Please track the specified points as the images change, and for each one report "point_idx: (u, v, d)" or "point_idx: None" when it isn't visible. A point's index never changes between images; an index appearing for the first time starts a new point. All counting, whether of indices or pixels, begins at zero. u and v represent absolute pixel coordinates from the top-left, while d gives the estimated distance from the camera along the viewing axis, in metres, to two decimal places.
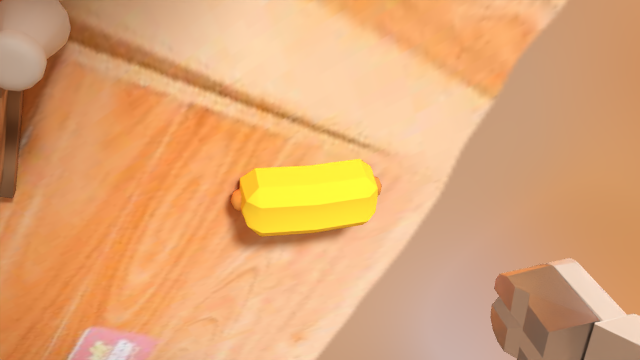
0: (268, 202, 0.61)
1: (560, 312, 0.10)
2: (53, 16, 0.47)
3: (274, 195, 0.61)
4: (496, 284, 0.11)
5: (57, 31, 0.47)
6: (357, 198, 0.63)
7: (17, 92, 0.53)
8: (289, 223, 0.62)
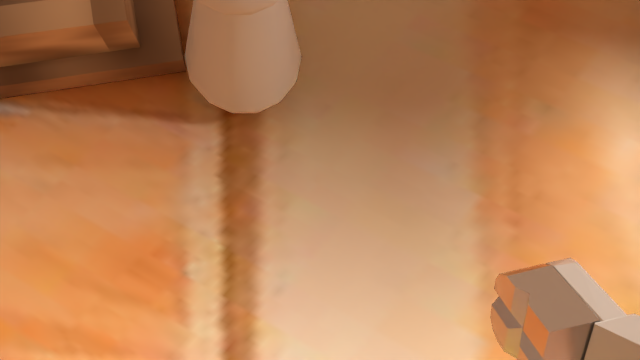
0: None
1: (560, 312, 0.10)
2: (286, 65, 0.26)
3: None
4: (496, 284, 0.11)
5: (268, 71, 0.25)
6: None
7: (99, 66, 0.29)
8: None
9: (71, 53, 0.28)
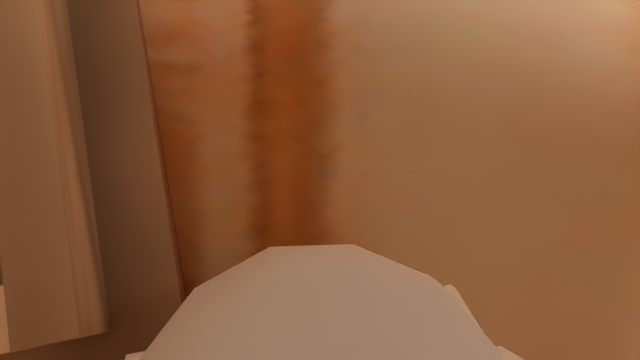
0: None
1: None
2: None
3: None
4: None
5: None
6: None
7: None
8: None
9: None
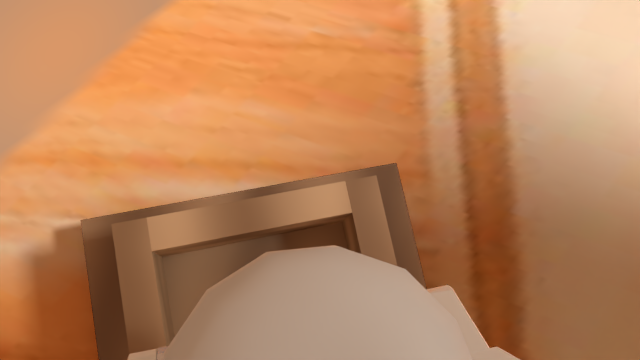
0: None
1: None
2: None
3: None
4: None
5: None
6: None
7: None
8: None
9: None
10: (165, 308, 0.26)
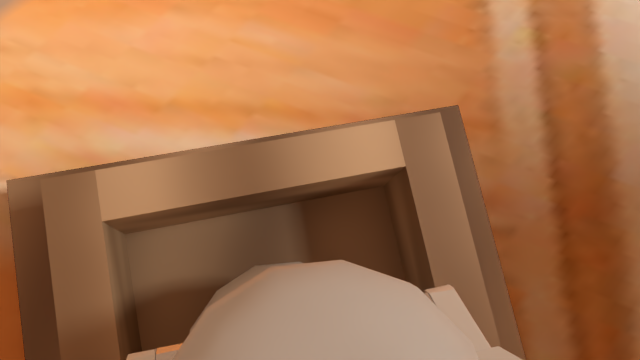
0: None
1: None
2: None
3: None
4: None
5: None
6: None
7: None
8: None
9: None
10: (125, 309, 0.17)
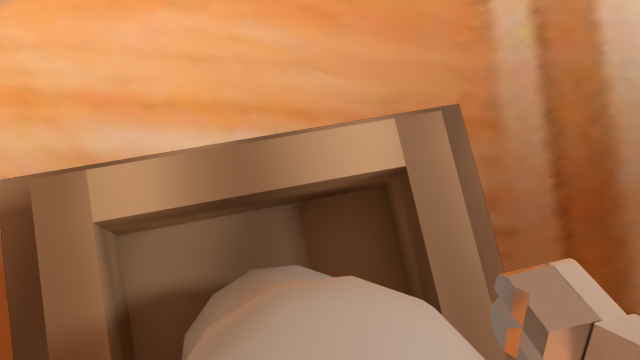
0: None
1: (560, 312, 0.10)
2: None
3: None
4: (496, 284, 0.11)
5: None
6: None
7: None
8: None
9: None
10: (117, 313, 0.16)
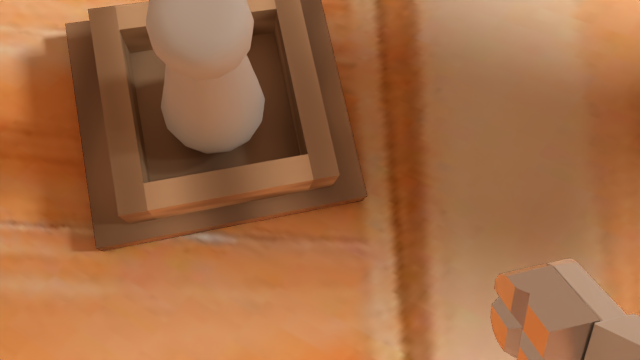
0: None
1: (560, 312, 0.10)
2: (251, 110, 0.30)
3: None
4: (496, 284, 0.11)
5: (235, 117, 0.29)
6: None
7: (300, 204, 0.34)
8: None
9: (279, 194, 0.34)
10: (130, 80, 0.33)
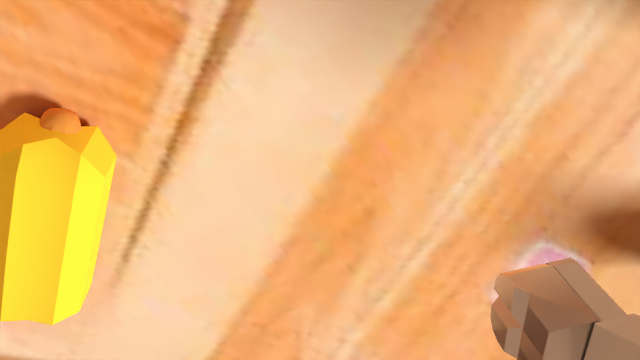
0: (81, 195, 0.36)
1: (560, 312, 0.10)
2: None
3: (88, 201, 0.37)
4: (496, 284, 0.11)
5: None
6: (54, 311, 0.40)
7: None
8: (29, 219, 0.36)
9: None
10: None
